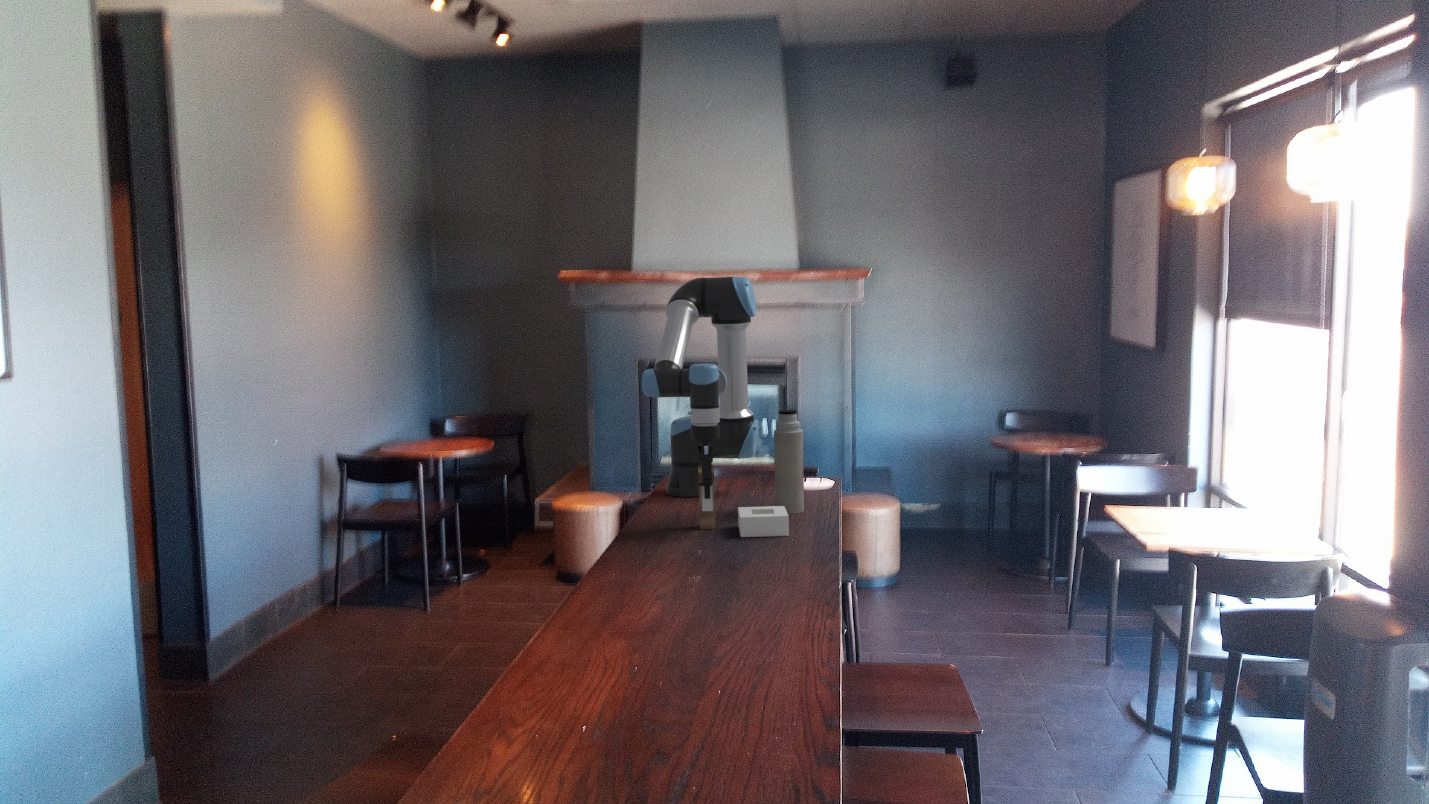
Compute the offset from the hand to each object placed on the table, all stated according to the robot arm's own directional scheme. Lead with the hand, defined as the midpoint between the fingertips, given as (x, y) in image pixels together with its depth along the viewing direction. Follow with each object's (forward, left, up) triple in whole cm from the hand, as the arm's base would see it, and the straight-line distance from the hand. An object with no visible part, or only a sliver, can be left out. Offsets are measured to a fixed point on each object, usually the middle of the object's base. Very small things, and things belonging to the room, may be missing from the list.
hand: (707, 505), depth 274 cm
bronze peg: (0, 0, -6) cm, 6 cm away
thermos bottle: (-17, +23, -6) cm, 29 cm away
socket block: (+6, +14, -6) cm, 16 cm away
